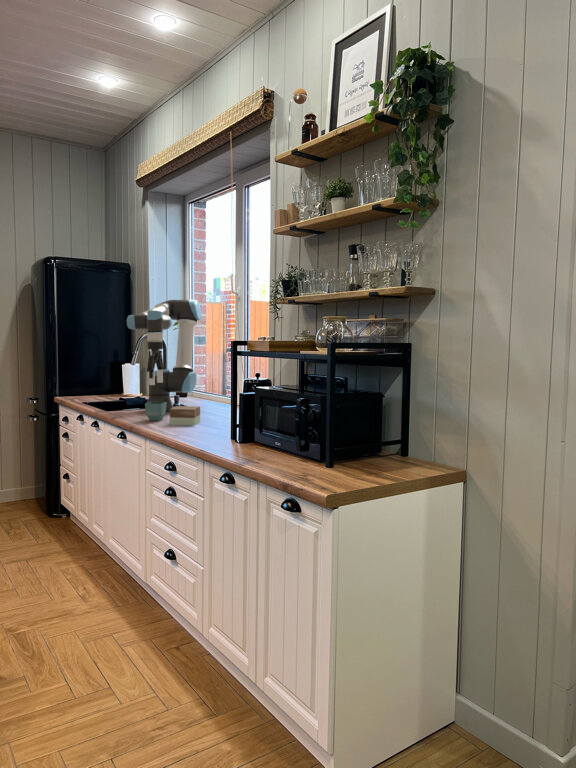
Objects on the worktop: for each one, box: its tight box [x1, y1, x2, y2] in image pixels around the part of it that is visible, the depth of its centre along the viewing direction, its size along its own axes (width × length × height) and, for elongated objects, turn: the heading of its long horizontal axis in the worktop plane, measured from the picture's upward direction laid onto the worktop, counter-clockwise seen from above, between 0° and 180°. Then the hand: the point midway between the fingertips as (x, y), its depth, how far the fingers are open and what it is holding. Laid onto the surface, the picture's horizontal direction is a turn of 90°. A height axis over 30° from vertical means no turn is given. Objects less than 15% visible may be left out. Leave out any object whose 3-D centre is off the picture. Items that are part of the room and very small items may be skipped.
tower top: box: [169, 405, 201, 419], centre depth 285 cm, size 12×12×4 cm
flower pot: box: [144, 402, 167, 422], centre depth 295 cm, size 9×9×9 cm
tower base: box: [169, 414, 201, 426], centre depth 285 cm, size 12×12×4 cm
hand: (155, 383), depth 293 cm, fingers open, 13 cm apart
